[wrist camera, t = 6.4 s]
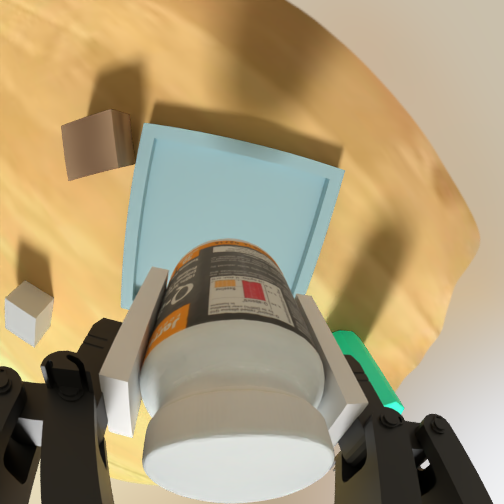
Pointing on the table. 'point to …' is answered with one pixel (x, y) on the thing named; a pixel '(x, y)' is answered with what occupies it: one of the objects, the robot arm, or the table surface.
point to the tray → (224, 203)
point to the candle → (368, 367)
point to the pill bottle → (232, 382)
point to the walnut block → (97, 144)
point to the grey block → (28, 312)
